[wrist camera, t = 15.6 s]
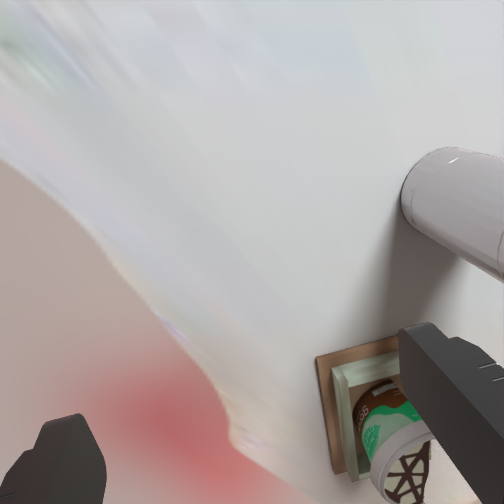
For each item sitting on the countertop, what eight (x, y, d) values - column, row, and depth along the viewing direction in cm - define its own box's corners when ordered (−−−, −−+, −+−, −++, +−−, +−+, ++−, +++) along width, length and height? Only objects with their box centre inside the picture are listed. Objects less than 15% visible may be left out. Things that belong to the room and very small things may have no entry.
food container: (344, 378, 49) (381, 445, 40) (391, 369, 50) (438, 433, 41) (343, 450, 54) (376, 525, 45) (386, 441, 55) (427, 513, 46)
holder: (425, 328, 49) (442, 344, 46) (427, 442, 57) (441, 463, 54) (315, 357, 48) (325, 376, 45) (333, 469, 56) (342, 492, 53)
